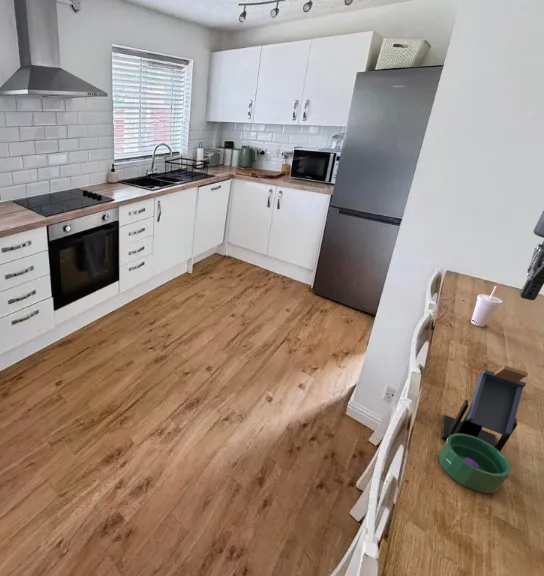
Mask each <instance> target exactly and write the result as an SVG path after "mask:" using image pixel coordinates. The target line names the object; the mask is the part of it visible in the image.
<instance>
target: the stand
mask: <svg viewBox="0 0 544 576" xmlns="http://www.w3.org/2000/svg"><path fill="white" fill-rule="evenodd" d="M468 409H469V400H468V399H465V400H464V401H463V403H462V405H461V407H460V409H459V411H458V413H457V415H456V416H455V418H454V417H452V416H449V415H446V414H444V415H443V417H442V427H441V429H442V430H441V440H443V441H444V443H445V442H446V440H447V438H448V437H449V436H450V435H452V434H456V433H458V434H467V435H471V436H474V437H476V438H479V439H481V440H483V441H485V442H487V443H489V444H490V445H492V446H493V447H495V448H496V449H497V450H499V451H500V452H501V451H502V450H503V448H504V447H505V445H506V443H507V442H508V440H509V439H510V437H511V435H512V434H513V433H514V432H515V429H516V428H517V426H518V420H517V418H516V417H515V421H514V425H513V428H512V432H511V434H510V435H507V436H504V435H502V434H501V436H500V437H499V438H498V441H497V439H496V434H494V433H491V432H490V431H487V430H484V429H483V427H482V426H479V425H477V424H474V423H472V422H469V421H466V418H467V415H468V412H469V410H468ZM467 410H468V411H467ZM465 414H466V415H465ZM464 415H465V417H464ZM462 419H463V420H462Z"/></svg>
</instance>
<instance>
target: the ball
mask: <svg viewBox="0 0 544 576" xmlns="http://www.w3.org/2000/svg"><path fill="white" fill-rule="evenodd" d="M462 459H463V460H464V461H466V462H467V463H469V464H470V465H472V466H474V467H476V468H478V469H479V467H478V464H477V463H476V462H475V461H474V460H472V459H470V458H467V457H463V458H462Z"/></svg>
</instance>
